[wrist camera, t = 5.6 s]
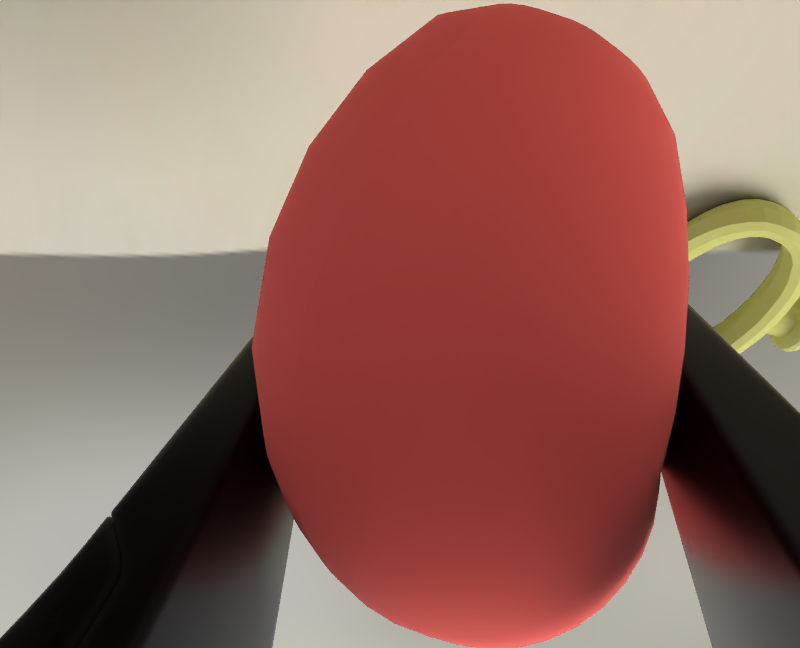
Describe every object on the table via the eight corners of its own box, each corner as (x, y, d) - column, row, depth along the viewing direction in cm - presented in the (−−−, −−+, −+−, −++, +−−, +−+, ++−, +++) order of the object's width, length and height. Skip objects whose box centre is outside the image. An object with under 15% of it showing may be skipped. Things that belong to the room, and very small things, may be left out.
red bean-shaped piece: (280, 353, 14) (373, 673, 12) (78, 17, 5) (280, 941, 3) (511, 279, 14) (639, 573, 12) (658, -133, 6) (1147, 586, 4)
